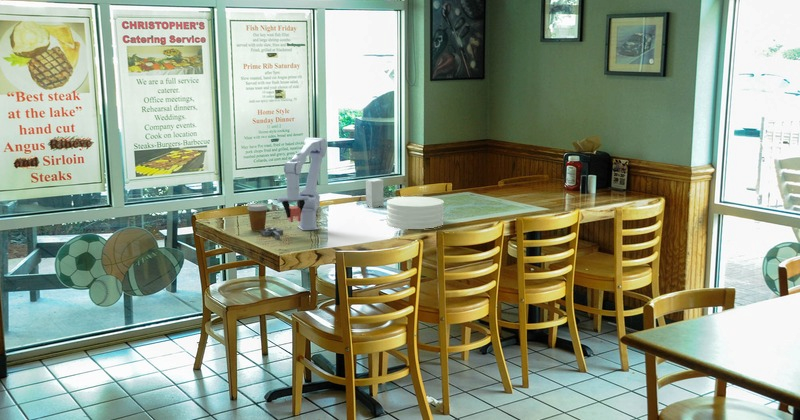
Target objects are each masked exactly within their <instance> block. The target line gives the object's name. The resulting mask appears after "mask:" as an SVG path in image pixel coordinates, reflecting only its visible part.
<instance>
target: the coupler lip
mask: <svg viewBox="0 0 800 420" xmlns="http://www.w3.org/2000/svg"><path fill="white" fill-rule="evenodd" d="M260 234H261V235H263V237H267V236H271V237H273V238H274V239H276V240H281V236H282V235H284V230H283V229H282V228H281V227H275V226H272V227H271V226H270V227H267V228H265V229H261V231H260Z"/></svg>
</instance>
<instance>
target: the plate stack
mask: <svg viewBox="0 0 800 420" xmlns="http://www.w3.org/2000/svg"><path fill="white" fill-rule="evenodd" d="M444 204H445V201H444V200H443V199H440V198H436V197H430V196H429V197H428V196H401V197H400V196H399V197H393V198H389V199H387V200H386V215H387V216H386V225H387V226H388V227H390V228H393V227H394V228H393V229H398V228H400V230H408V229H424V230H426V229H425V228H434V227H437V226H440V225H442V224H443V223H444V220H445V218H444V217H445V216H444V215H445V212H444V210H445V206H444ZM444 224H445V223H444ZM434 229H435V228H434Z"/></svg>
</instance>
